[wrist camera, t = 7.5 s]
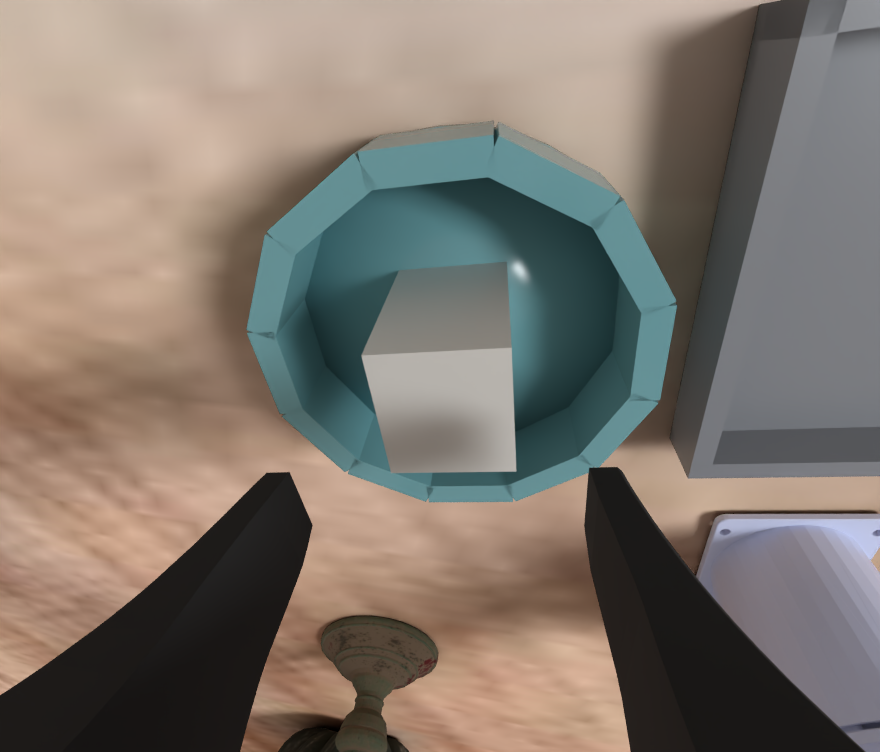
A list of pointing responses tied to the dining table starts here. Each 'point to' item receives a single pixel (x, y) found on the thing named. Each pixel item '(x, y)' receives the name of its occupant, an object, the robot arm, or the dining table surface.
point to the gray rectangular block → (445, 370)
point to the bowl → (464, 243)
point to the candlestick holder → (374, 672)
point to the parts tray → (793, 260)
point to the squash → (324, 742)
